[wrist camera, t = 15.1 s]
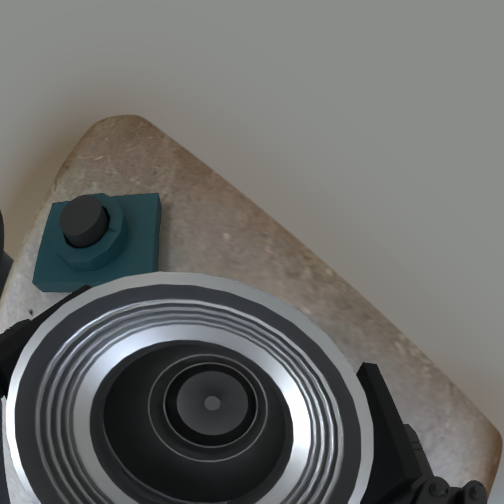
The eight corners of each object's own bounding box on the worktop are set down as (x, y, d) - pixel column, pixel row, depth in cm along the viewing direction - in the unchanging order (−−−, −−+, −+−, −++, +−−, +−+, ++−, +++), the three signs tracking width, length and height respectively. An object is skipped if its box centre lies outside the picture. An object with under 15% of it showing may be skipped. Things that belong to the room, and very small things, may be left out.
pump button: (64, 249, 20) (54, 236, 18) (73, 211, 22) (65, 197, 20) (104, 246, 21) (96, 233, 19) (111, 207, 23) (105, 192, 21)
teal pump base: (43, 292, 22) (21, 274, 18) (60, 215, 26) (46, 191, 22) (157, 291, 23) (147, 271, 20) (161, 206, 28) (155, 180, 24)
